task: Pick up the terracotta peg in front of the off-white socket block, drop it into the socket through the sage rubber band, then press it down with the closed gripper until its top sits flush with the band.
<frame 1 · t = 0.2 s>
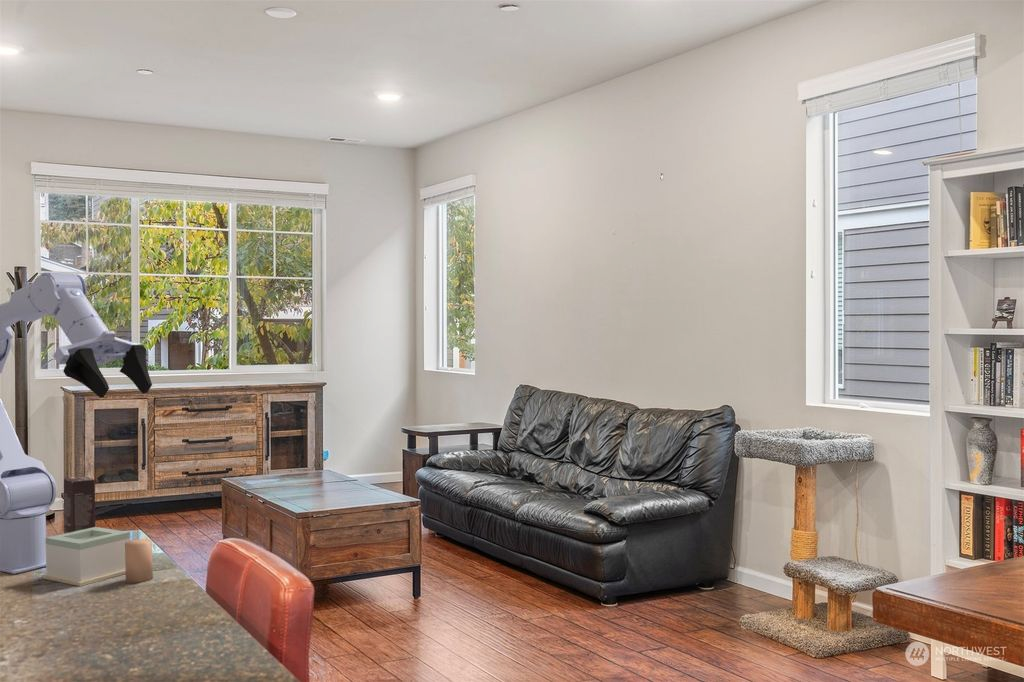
hand: (126, 390, 144), 30 cm above the kitchen island, tool tilted 45°, fingers open, 7 cm apart
peg: (139, 579, 150), on the kitchen island
box: (80, 543, 177), on the kitchen island
socket: (89, 574, 153), on the kitchen island
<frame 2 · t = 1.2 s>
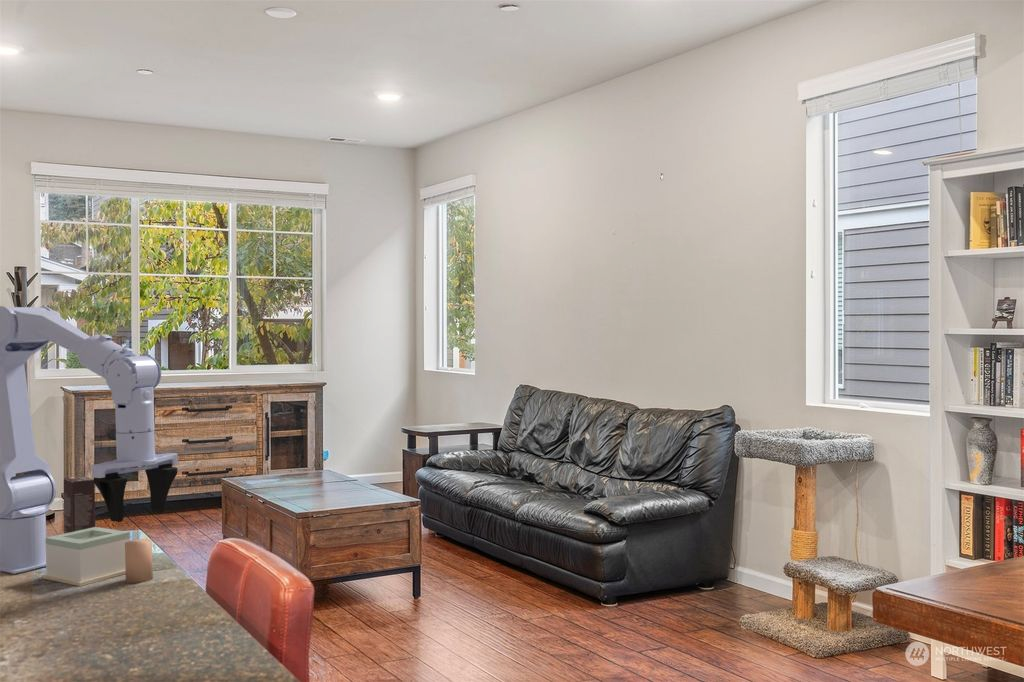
hand: (137, 516, 149), 10 cm above the kitchen island, tool pointing down, fingers open, 7 cm apart
nothing on the kitchen island moved.
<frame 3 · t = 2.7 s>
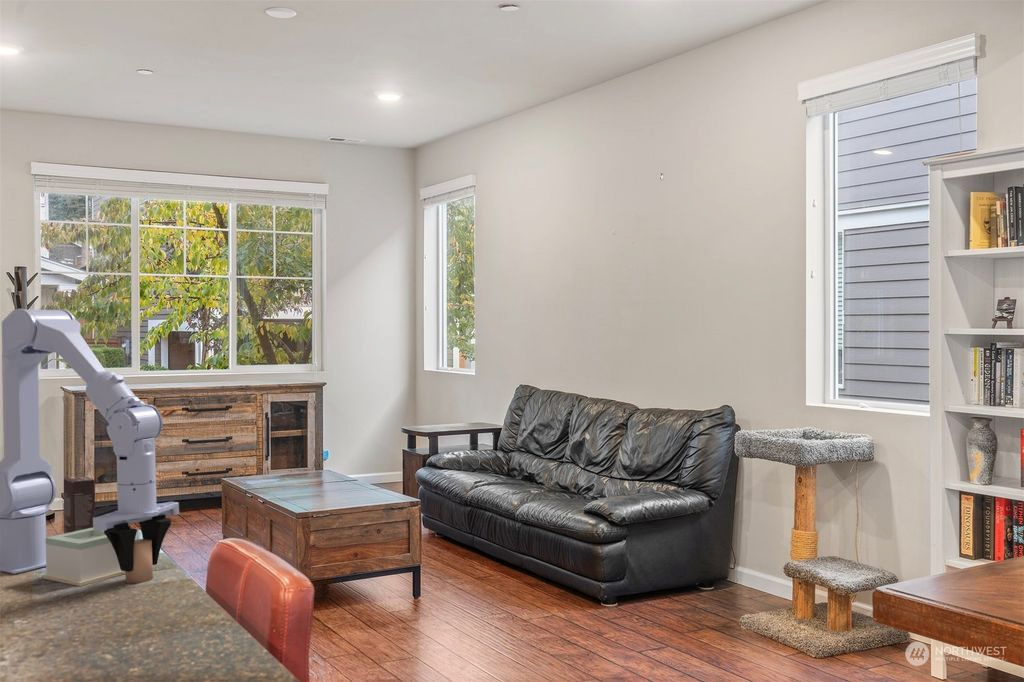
hand: (139, 567, 150), 2 cm above the kitchen island, tool pointing down, fingers closed on peg, 4 cm apart
peg: (139, 579, 150), on the kitchen island, touching gripper
everything else where it was.
when the fingers open (7 cm above the kitchen island, at t = 5.6 s): peg drops 5 cm, resting on socket.
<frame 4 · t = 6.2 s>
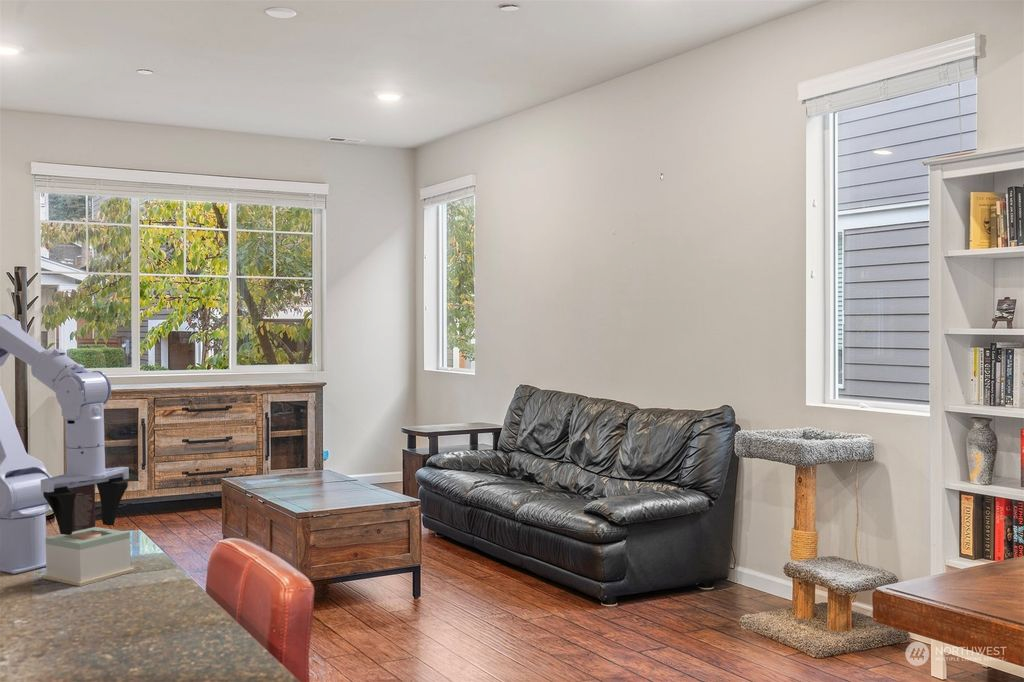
hand: (87, 529, 153), 7 cm above the kitchen island, tool pointing down, fingers open, 7 cm apart
peg: (88, 571, 153), point 1 cm above the kitchen island, touching socket
everything else where it was.
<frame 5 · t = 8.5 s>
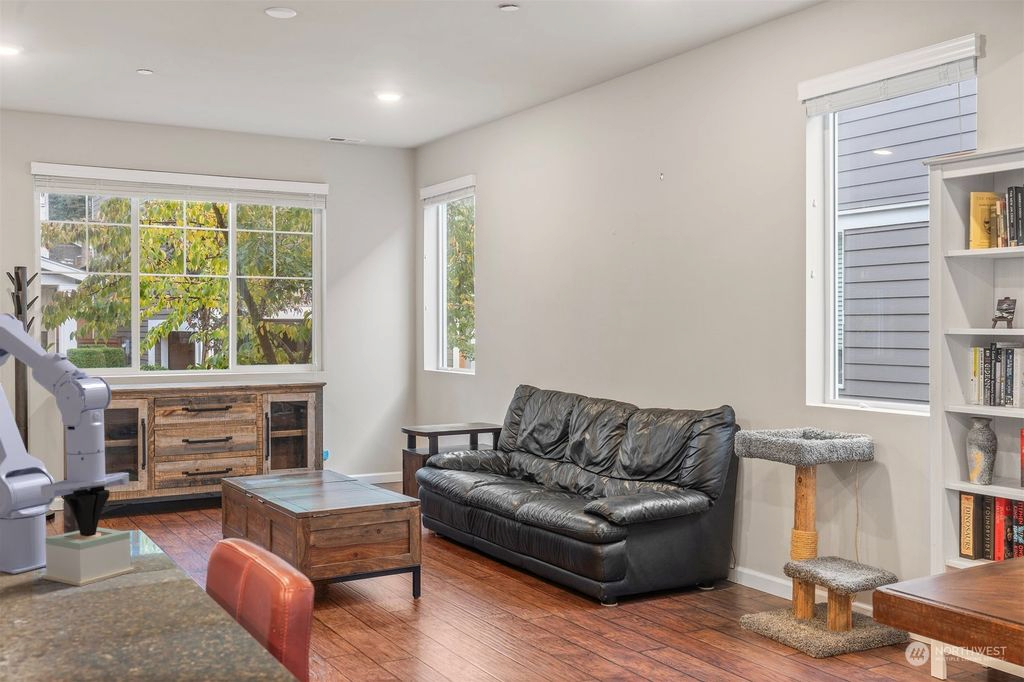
hand: (88, 535, 153), 6 cm above the kitchen island, tool pointing down, fingers closed, pressing on peg
peg: (88, 571, 153), resting on socket, touching gripper
everything else where it was.
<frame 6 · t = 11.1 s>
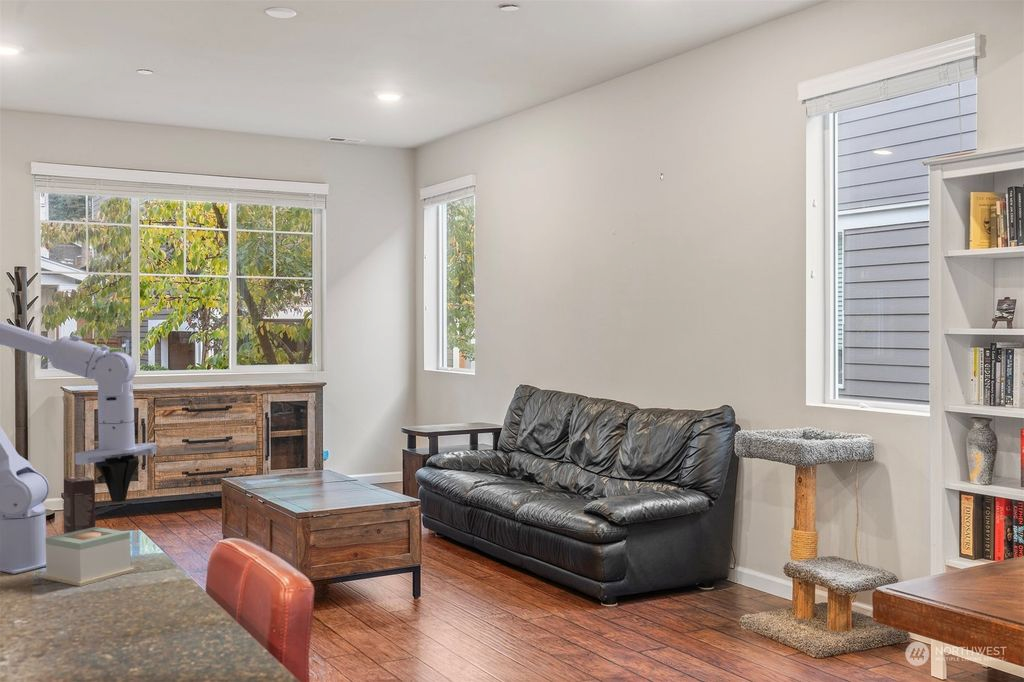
hand: (118, 501, 161), 10 cm above the kitchen island, tool pointing down, fingers closed
peg: (88, 571, 153), resting on socket
everything else where it was.
at the end: peg 0.0 cm off-centre on the socket, point 0.5 cm above the socket's base; peg tilted 0°; the gripper is holding nothing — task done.
